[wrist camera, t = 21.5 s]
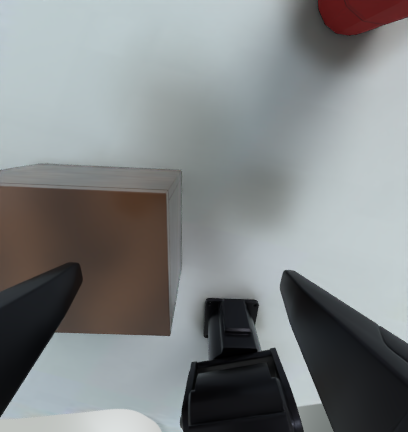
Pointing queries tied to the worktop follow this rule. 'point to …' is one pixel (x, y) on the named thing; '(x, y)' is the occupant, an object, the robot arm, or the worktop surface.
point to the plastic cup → (360, 14)
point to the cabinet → (97, 241)
